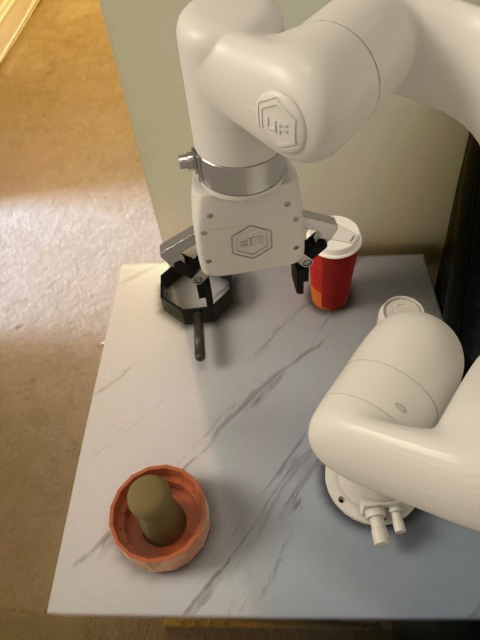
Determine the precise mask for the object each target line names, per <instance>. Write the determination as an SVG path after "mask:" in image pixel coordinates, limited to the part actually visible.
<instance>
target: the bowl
mask: <svg viewBox="0 0 480 640" xmlns="http://www.w3.org/2000/svg"><path fill="white" fill-rule="evenodd" d="M150 474H152V475H158V476H159V477H161V478H163V479H165V481H166V482H167V483H168V484H169V486H170V489H171V492H172V497H173V499H174V500H175V501H176V502H177V503H178V504H179V505H180V506H181V507H182V508H183V509H184V511H185V514H186V518H187V525H186V528H185V531H184V533H183V535H182V536H181V538H180V539H179V540H177V541H176V542H175V543H173V544H171V545H169V546H164V547H158V546H153V545H152V544H150V543H149V542H147V541H146V539H145V538H144V537H143V534H142V531H141V527H140V523H139V519H138V518H137V517H136V516H134V515H133V513H132V512H131V511H130V509H129V507H128V503H127V494H128V491H129V488H130V487H131V485H132V484H133V482H134V481H136V480H137V479H138V478H140V477H142V476H144V475H150ZM210 513H211V512H210V507H209V504H208V501H207V498H206V495H205V493H204V491H203V489H202V487H201V485H200V483H199V481H198V479H196V478H195V477H194V476H193V475H191V473H189V471H186V470H185V469H184V468H180V467H177V466H174V465H171V464H159V465H151V466H147V467H145V468H143V469H141V470H139V471H137V472H135V473H133V474H131V475H130V476H129V477H128V478H127V479H126V480H125V481H124V482H123V483H122V484H121V486H119V487H118V488H117V491H116V493H115V496H114V498H113V499H112V502H111V504H110V507H109V519H108V527H109V531H110V534H111V536H112V539H113V542H114V544H115V546H116V547H117V548H118V549H119V551H120V552H121V553H122V554H123V555H124V556H125V557H126V558H127V559H128V560H129V561H130V562H131V563H132V564H133V565H134V566H135V567H137V568H140V569H142V570H145V571H147V572H152V573H154V574H155V573H164V572H165V573H166V572H173V571H176V570H178V569H179V568H181V567H183V566H185V565H187V564H188V563H191V561H193V559H194V558H195V557H196V556H197V554H198V553H200V551H201V550H202V549H203V547H204V546H205V543H206V541H207V537H208V535H209V532H210V529H211V516H210V515H211V514H210Z"/></svg>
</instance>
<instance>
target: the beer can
mask: <svg viewBox="0 0 480 640" xmlns="http://www.w3.org/2000/svg"><path fill="white" fill-rule="evenodd" d="M403 311H420V312H424V313H425V309H424V307H423V305H422V304H421V303H420V302H419V301H418V300H417V299H415V298H413V297H410V296H406V295H395V296H393V297H390V298H389V299H387V300H386V301H385V302H384V303H383V304H381V307H380V308H379V310H378V314H377V319H376V323H375V326H376V325H377V324H378V323H379V322H381V321H382V320H383V319H385V318H387V317H388V316H390V315H393V314H395V313H399V312H403Z"/></svg>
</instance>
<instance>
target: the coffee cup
mask: <svg viewBox="0 0 480 640" xmlns="http://www.w3.org/2000/svg"><path fill="white" fill-rule="evenodd" d="M330 216H331V217H334V218H335V220H336V223H337V226H338V230H337V231H336V233H335V234H334V235H333V237H332V238H331V240H329V241H328V243H327V248H326V249H325V250H323V251H322V252H321V253H320V254H319V255H317V256H316V257H315V258H314V259H313V264H312V265H311V266H310V267H309V280H310V295H311V300H312V302H313V304H314V305H315V306H316V307H317V308H319V309H321V310H324V311H329V312H331V311H336V310H339V309H342V308H343V307H344V306H345V304H346V303H347V301H348V297H349V294H350V290H351V285H352V280H353V275H354V272H355V267H356V263H357V258H358V254H359V250H360V248H361V246H362V244H363V236H362V233H361V230H360V228H359V226H358V225H357V224H356V223H355V222H354V221H353V220H351V219H350V218H348V217H345V216H342V215H330ZM314 232H316V231H314V230H310V229H307V231H306V233H305V238H306V239H307V238H308V237H310V236H311V235H312V234H313V233H314ZM306 239H305V240H306Z"/></svg>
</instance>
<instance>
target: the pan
mask: <svg viewBox="0 0 480 640" xmlns="http://www.w3.org/2000/svg"><path fill="white" fill-rule="evenodd" d="M190 257H191V258H192V257H193V256H190ZM159 277H160V286H159V287H160V288H159V289H160V291H159V295H160V301H161V304H162V308H163V311H165V313H167V314H168V315H170V316H172V318H175V319H176V320H178V321H179V322H181V323H182V324H184V325H193V343H194V344H193V345H194V346H193V347H194V359H195V360H196V361H197V362H199V363H202V362H203V361H205V359H206V342H205V326H204V323H211V322H216V321H217V320H218V319H219V318H220V317H221V316H222V315H223V314H224V313H226V311H227V310H229V309H230V307H231V306H232V305H234V303H235V295H234V286H233V278H232V275H225V276H219V277H220V278H221V279H223V280H225V281H226V282H228V290H227V291H225V292H224V294H222V295H221V296H220V297H219V298H218V299H217V300H216V301H215V302H213V303H214V307H212V308H211V309H208V308H207V306H201V307H199V306H198V307H190V308H182V307H180V306H179V305H177V304H176V303H175V302H173V301H171V300H170V299H169V298H168V289H169V288H170V287H171V286H173V284H175V283H176V282H177V281H178V280H179V279H181V278H182V277H183V275H182V274H180V273H177V272H176V271H175V270H174V267H173V266H170V267H168V268H167V269H166V270H165V271H164V272H163V273H162V274H160V276H159Z"/></svg>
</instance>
